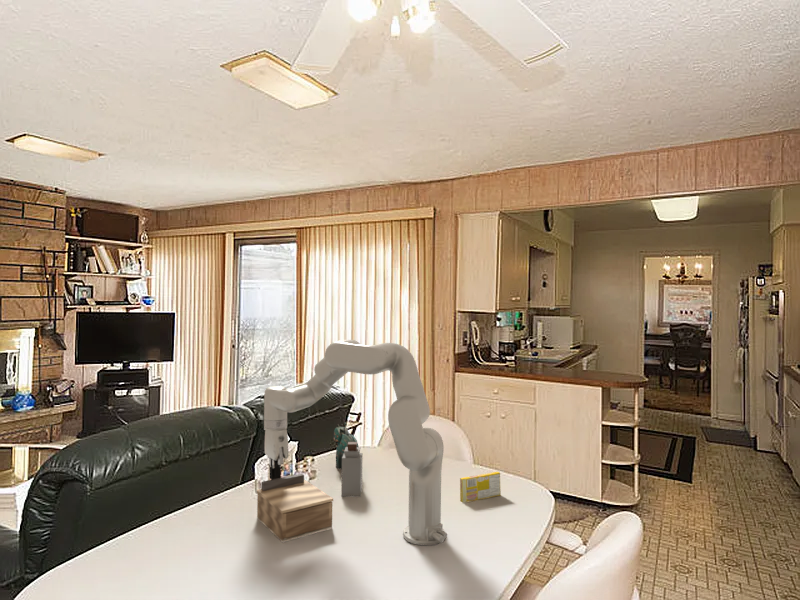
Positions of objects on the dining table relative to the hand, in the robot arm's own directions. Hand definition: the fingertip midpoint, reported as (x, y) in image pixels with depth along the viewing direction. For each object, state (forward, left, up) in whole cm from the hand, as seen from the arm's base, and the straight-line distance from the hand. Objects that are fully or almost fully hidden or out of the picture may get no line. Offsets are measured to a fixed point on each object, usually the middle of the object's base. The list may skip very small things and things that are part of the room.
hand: (275, 478), depth 174 cm
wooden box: (-15, 0, -10) cm, 18 cm away
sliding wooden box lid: (-15, 0, -1) cm, 15 cm away
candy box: (-33, -63, -10) cm, 72 cm away
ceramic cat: (+17, -38, -10) cm, 43 cm away
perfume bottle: (-3, -28, -10) cm, 30 cm away
